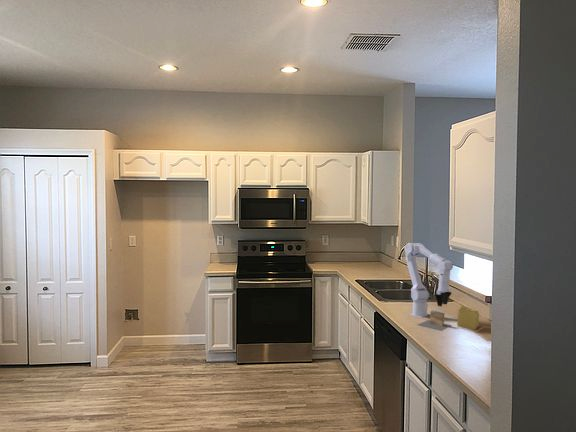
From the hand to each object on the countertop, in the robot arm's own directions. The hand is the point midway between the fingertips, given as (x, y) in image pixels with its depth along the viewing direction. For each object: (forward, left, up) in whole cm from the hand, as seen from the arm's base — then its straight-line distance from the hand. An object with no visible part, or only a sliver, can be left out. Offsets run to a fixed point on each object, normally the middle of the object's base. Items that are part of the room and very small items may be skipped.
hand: (442, 305), depth 273 cm
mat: (+9, 0, -10) cm, 14 cm away
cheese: (-6, +13, -11) cm, 18 cm away
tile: (+6, 0, -10) cm, 12 cm away
